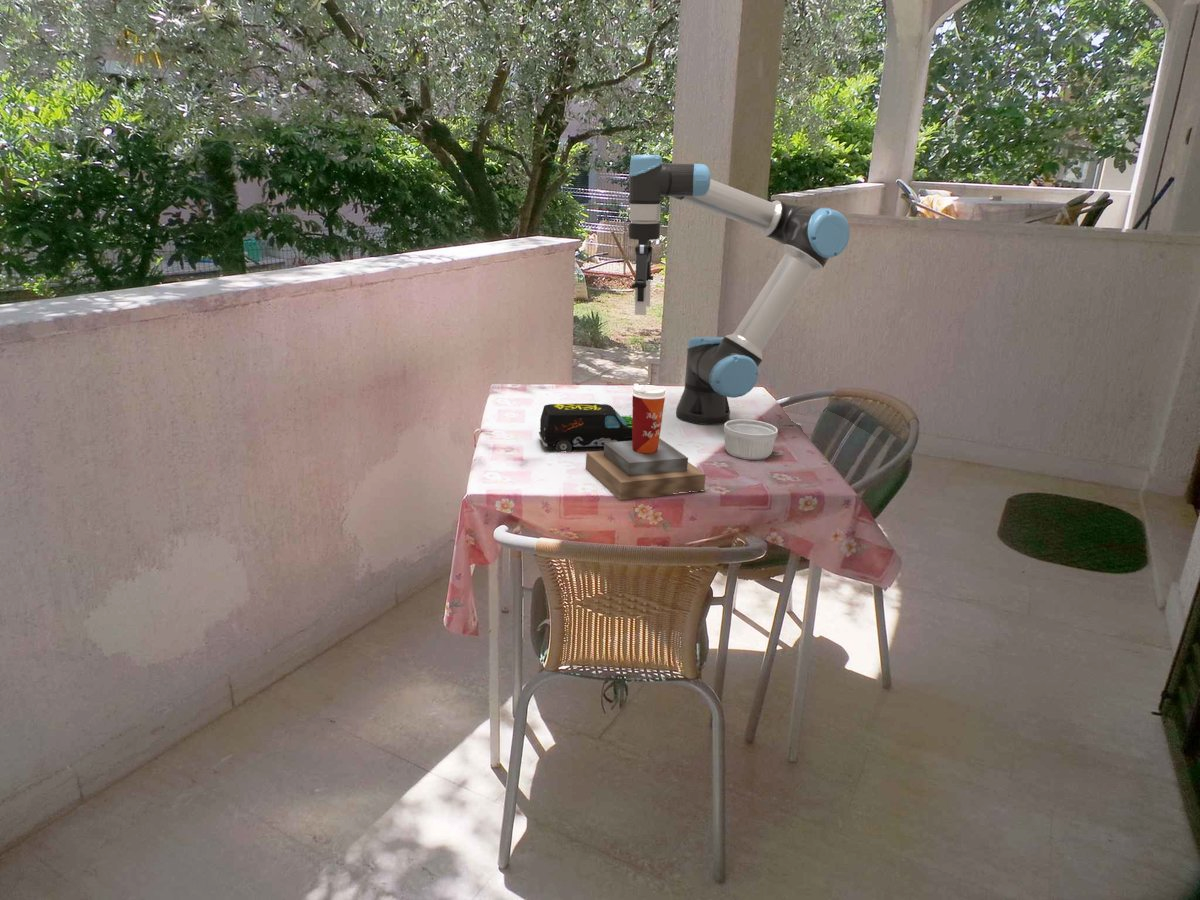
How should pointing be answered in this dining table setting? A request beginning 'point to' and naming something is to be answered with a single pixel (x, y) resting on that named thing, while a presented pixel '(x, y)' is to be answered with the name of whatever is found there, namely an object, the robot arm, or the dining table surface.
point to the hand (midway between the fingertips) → (642, 310)
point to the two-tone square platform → (643, 471)
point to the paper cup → (647, 417)
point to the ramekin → (749, 438)
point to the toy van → (582, 426)
